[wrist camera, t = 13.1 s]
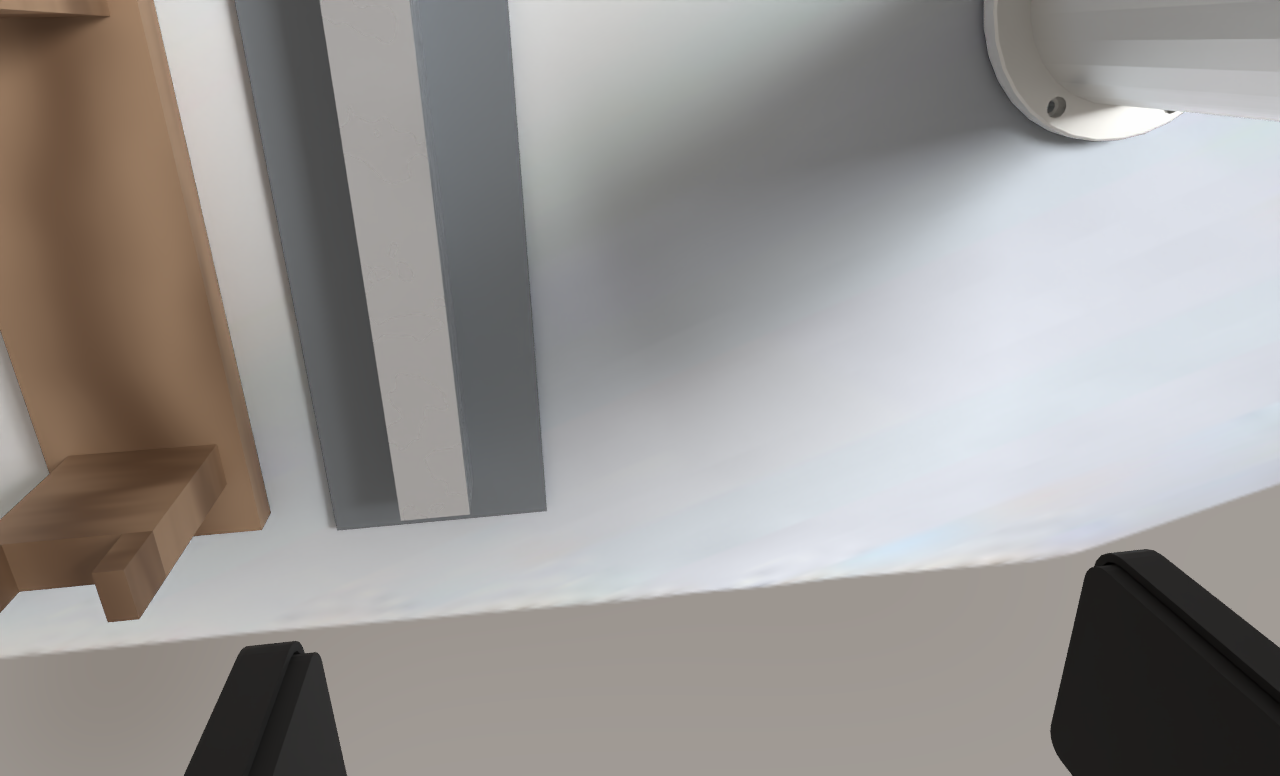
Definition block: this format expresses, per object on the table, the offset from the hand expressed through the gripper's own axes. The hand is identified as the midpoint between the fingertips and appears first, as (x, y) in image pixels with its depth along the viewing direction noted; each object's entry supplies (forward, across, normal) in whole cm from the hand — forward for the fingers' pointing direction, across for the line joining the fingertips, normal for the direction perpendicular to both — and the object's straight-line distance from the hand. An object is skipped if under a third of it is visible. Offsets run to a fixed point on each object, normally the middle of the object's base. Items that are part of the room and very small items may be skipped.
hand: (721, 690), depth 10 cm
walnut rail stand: (+28, +19, 0) cm, 34 cm away
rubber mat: (+28, +7, 0) cm, 29 cm away
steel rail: (+28, +7, 0) cm, 29 cm away
